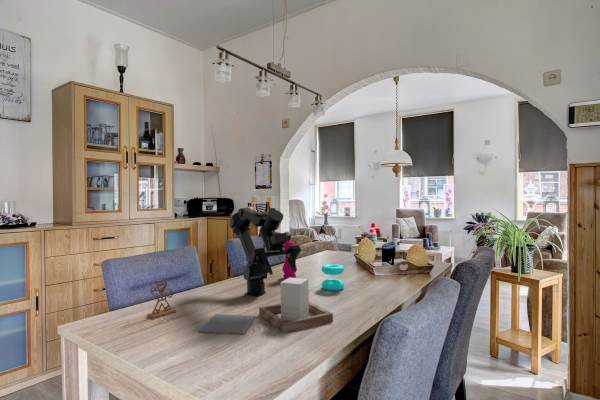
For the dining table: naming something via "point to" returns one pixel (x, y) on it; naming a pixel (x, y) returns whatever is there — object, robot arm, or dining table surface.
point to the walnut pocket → (319, 318)
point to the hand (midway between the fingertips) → (283, 272)
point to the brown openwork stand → (166, 310)
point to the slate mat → (228, 324)
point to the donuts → (332, 283)
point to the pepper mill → (286, 267)
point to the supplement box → (294, 299)
